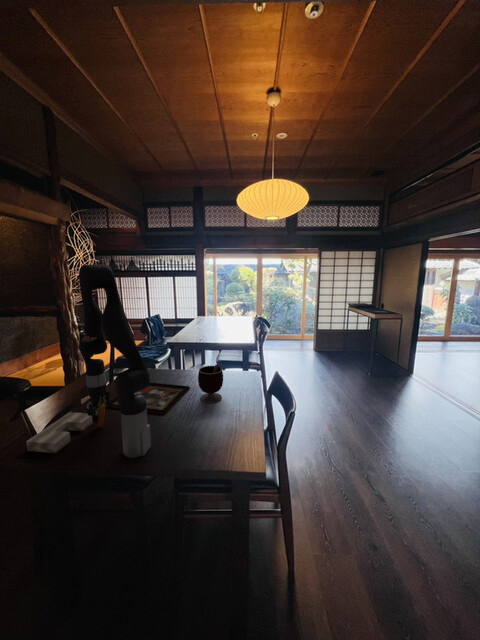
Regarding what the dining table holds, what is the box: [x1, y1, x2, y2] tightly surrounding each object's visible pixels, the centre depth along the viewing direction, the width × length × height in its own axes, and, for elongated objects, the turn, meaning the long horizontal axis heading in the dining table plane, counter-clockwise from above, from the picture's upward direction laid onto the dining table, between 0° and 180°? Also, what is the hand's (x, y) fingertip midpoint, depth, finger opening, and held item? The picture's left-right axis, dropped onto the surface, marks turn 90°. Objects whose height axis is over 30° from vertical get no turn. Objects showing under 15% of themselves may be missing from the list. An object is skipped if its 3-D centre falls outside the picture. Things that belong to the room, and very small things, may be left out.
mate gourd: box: [197, 360, 224, 405], centre depth 142 cm, size 16×14×20 cm
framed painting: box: [106, 382, 190, 415], centre depth 144 cm, size 38×35×3 cm
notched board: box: [26, 412, 93, 454], centre depth 109 cm, size 12×22×4 cm, turn 174°
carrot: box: [94, 396, 105, 428], centre depth 114 cm, size 5×5×15 cm
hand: (99, 418), depth 114 cm, fingers closed on carrot, 5 cm apart
